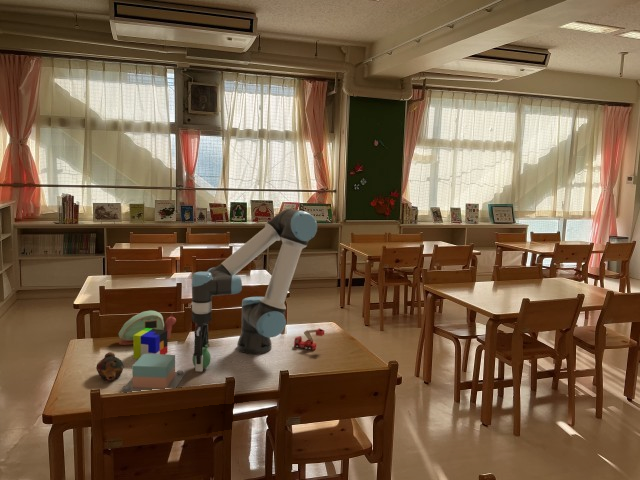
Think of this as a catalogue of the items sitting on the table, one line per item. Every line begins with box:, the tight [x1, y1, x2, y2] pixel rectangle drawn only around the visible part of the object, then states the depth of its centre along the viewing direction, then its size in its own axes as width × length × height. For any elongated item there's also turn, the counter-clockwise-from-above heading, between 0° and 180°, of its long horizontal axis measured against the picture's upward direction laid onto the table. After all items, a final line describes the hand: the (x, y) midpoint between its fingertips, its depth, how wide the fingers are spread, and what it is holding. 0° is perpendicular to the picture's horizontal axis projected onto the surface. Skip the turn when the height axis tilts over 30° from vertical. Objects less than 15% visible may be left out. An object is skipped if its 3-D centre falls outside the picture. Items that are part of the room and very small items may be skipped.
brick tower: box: [120, 354, 186, 392], centre depth 195 cm, size 18×18×9 cm
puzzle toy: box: [132, 328, 169, 360], centre depth 222 cm, size 10×10×10 cm
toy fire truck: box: [293, 328, 325, 351], centre depth 237 cm, size 3×14×10 cm, turn 68°
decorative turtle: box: [96, 351, 125, 381], centre depth 199 cm, size 10×15×8 cm, turn 28°
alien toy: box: [192, 345, 212, 370], centre depth 210 cm, size 7×8×10 cm
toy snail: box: [118, 310, 177, 346], centre depth 239 cm, size 25×8×14 cm, turn 116°
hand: (201, 366), depth 211 cm, fingers closed on alien toy, 8 cm apart
